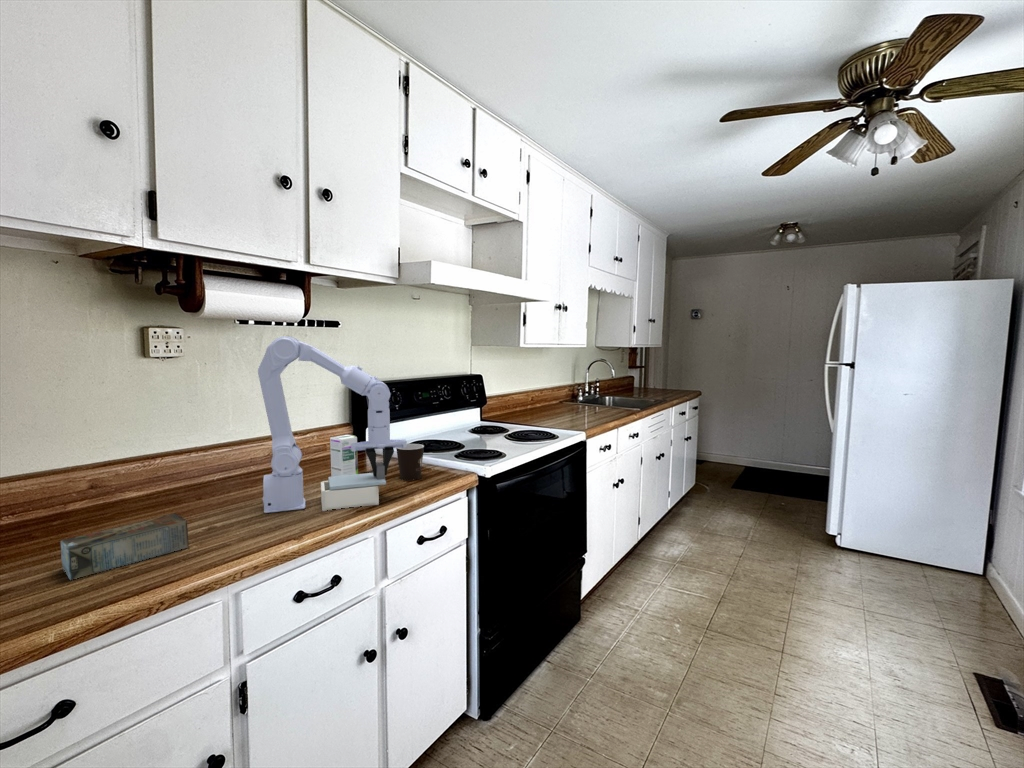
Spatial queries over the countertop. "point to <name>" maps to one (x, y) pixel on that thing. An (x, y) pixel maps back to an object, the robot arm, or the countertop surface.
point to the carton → (348, 496)
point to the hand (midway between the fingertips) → (379, 475)
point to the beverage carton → (123, 545)
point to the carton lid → (359, 479)
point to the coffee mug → (410, 461)
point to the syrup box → (343, 456)
